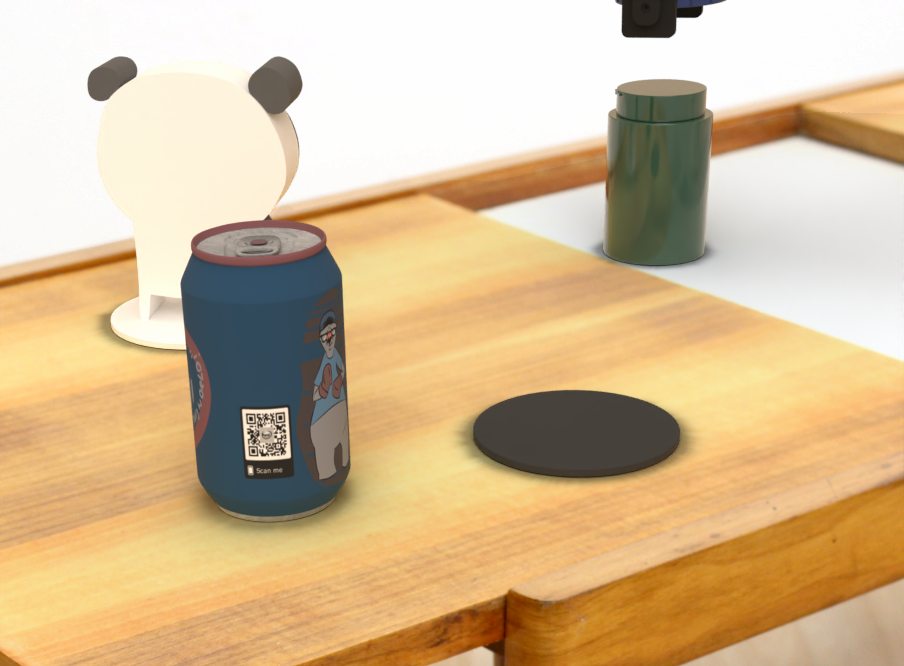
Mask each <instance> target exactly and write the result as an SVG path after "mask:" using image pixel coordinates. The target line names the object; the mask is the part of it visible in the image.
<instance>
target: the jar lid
mask: <svg viewBox="0 0 904 666" xmlns="http://www.w3.org/2000/svg"><path fill="white" fill-rule="evenodd" d="M726 1H727V0H677V8H686V7H697V6H703V7H704V6H710V5H711V6H713V5H716V4H720V3H724V2H726ZM614 2H615V3H616V4H617V5H620V6H622V0H614Z"/></svg>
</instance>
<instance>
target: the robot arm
mask: <svg viewBox="0 0 904 666" xmlns="http://www.w3.org/2000/svg"><path fill="white" fill-rule="evenodd" d="M703 12H704V6H697V7H686V8H677V0H622V5H621V28H620V29H621V30H620V31H621V35H622V36H623V37H624V38H628V39H671V38H672V37H673V36H674V35H676V33H677V23H678V19H697V18H699V17H700V16H701V15H702V14H703Z"/></svg>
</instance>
